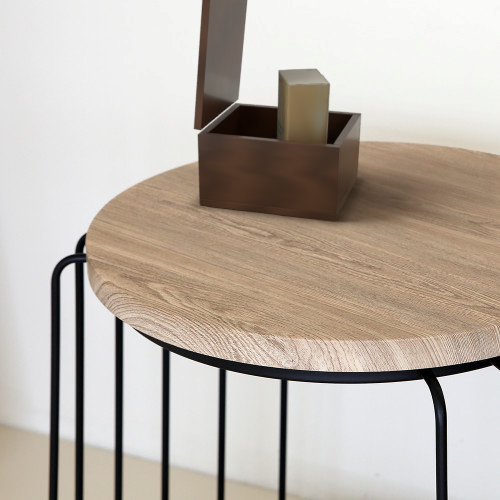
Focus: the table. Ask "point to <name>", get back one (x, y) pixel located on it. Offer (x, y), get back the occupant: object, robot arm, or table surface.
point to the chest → (277, 164)
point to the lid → (219, 58)
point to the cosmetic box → (302, 106)
